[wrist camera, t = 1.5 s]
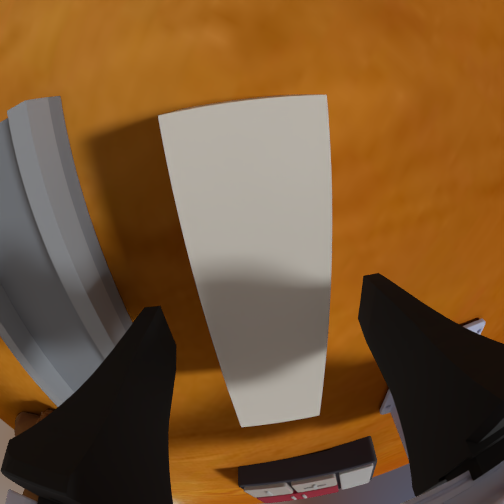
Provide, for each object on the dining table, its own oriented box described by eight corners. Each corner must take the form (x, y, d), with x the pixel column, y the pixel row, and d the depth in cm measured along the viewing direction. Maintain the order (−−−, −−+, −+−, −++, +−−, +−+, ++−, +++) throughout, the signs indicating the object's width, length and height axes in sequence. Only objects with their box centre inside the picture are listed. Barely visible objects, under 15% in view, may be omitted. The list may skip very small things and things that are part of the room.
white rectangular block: (302, 352, 17) (319, 415, 13) (237, 362, 17) (241, 427, 13) (289, 94, 10) (326, 94, 6) (184, 108, 10) (157, 115, 6)
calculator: (237, 492, 24) (379, 466, 22) (236, 459, 27) (370, 433, 26) (262, 505, 29) (372, 484, 27) (261, 479, 33) (366, 459, 31)
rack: (168, 390, 18) (164, 421, 16) (73, 388, 18) (65, 414, 16) (60, 95, 9) (25, 100, 7) (-43, 155, 9) (-73, 169, 7)
